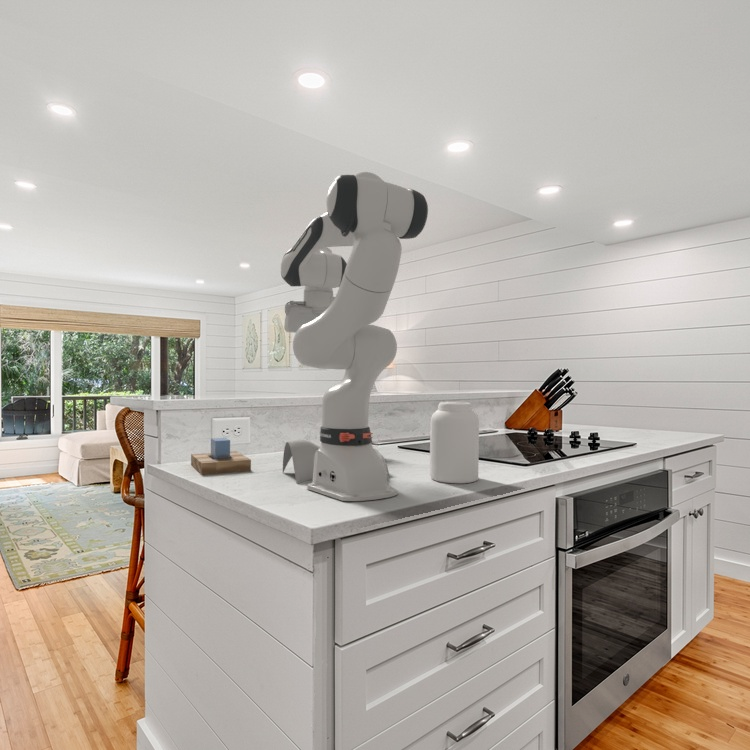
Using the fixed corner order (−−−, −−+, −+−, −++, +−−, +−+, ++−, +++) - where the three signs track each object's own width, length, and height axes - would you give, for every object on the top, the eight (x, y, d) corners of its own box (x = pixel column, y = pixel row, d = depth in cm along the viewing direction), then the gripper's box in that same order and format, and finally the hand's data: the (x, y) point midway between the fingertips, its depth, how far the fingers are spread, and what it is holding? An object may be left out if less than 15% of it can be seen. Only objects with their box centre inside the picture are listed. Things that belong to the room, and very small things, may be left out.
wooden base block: (250, 470, 141) (250, 459, 141) (201, 474, 135) (201, 463, 135) (236, 461, 155) (236, 451, 155) (191, 464, 149) (191, 454, 149)
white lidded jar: (440, 485, 126) (442, 403, 126) (422, 475, 138) (423, 400, 138) (487, 483, 129) (488, 403, 129) (465, 473, 141) (466, 400, 141)
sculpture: (363, 466, 152) (363, 433, 152) (391, 478, 134) (392, 441, 134) (279, 472, 142) (279, 436, 141) (298, 486, 124) (298, 446, 124)
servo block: (231, 469, 142) (231, 440, 142) (216, 471, 140) (216, 441, 140) (223, 464, 150) (224, 437, 150) (209, 465, 148) (209, 437, 148)
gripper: (288, 298, 147) (288, 347, 147) (353, 304, 156) (352, 349, 157) (281, 301, 152) (280, 348, 152) (344, 306, 162) (343, 350, 162)
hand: (317, 349), depth 155 cm, fingers open, 8 cm apart
